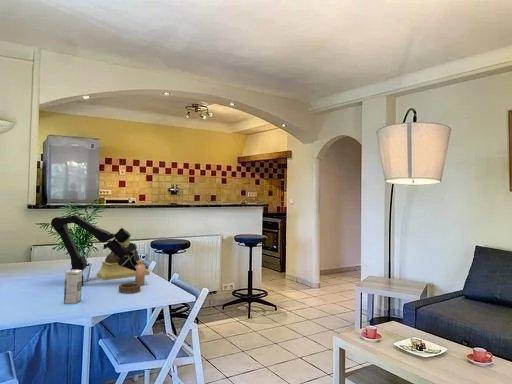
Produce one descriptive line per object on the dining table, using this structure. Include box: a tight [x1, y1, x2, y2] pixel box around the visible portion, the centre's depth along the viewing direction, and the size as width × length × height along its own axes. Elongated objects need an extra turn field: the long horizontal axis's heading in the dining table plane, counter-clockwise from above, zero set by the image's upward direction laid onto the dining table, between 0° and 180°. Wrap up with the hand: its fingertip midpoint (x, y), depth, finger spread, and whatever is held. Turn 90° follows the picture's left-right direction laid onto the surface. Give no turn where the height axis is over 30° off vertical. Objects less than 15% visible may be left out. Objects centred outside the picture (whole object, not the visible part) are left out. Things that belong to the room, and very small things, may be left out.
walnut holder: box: [118, 282, 141, 295], centre depth 198 cm, size 10×10×3 cm
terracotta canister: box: [134, 264, 146, 287], centre depth 212 cm, size 5×5×11 cm
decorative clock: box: [96, 226, 150, 281], centre depth 235 cm, size 28×13×30 cm, turn 131°
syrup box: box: [63, 269, 83, 305], centre depth 177 cm, size 6×6×14 cm
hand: (137, 268), depth 212 cm, fingers open, 9 cm apart
